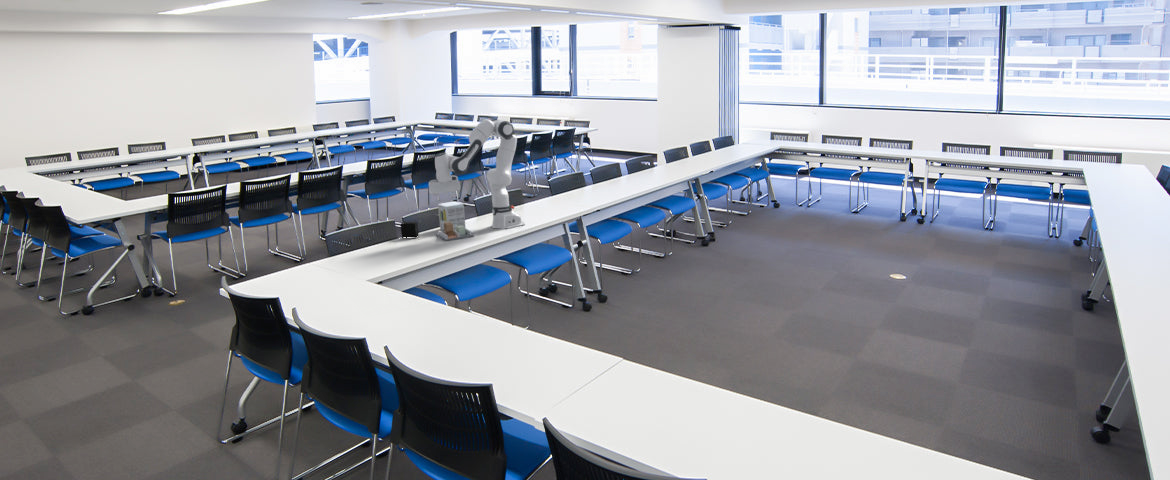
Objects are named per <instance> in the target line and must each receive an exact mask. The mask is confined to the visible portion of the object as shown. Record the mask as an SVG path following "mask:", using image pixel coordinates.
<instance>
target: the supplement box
mask: <svg viewBox="0 0 1170 480" xmlns="http://www.w3.org/2000/svg"><path fill="white" fill-rule="evenodd" d="M437 205H438V206H437V207H438V220H439V229H440V230H443V231H444V223H446V222H451V223H452V224H453V230H455V231H456V226H459V225H462V226H464V227H465V228H466V229H467V227H466V217H465V215H466V214H465V208H464V207H465V204H464V203H462V202H459V201H456V200H455V201H454V200H453V201H448V202H442V203H438V204H437Z"/></svg>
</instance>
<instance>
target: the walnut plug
mask: <svg viewBox="0 0 1170 480" xmlns="http://www.w3.org/2000/svg"><path fill="white" fill-rule="evenodd" d="M443 233H445V234H446V235H448V237H449V236H454V233H453V224H452V223H451V222H446V223H444V230H443Z"/></svg>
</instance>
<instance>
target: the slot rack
mask: <svg viewBox="0 0 1170 480" xmlns="http://www.w3.org/2000/svg"><path fill="white" fill-rule="evenodd" d="M465 227H466V226H465ZM465 227H464V226H462V225H459V226H456V231H455V230H453V233H454V236H449V237H448V235H446V234H445V232H444V231H441V230H438V231H437V232H438V233H437V234H436V236H437V237H438V238H439V239H441V240H442V241H445V242H451V241H456V240H462V239H469V238H474V234H472V233H473V232H472V231H471V230H469V229H468V228H467V227H466V228H465Z"/></svg>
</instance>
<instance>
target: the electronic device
mask: <svg viewBox="0 0 1170 480" xmlns="http://www.w3.org/2000/svg"><path fill="white" fill-rule="evenodd" d="M403 222H404V224H403ZM403 222H401V223H400V231H401V238H402V239H404V238H403V237H406V238H405V239H408V238H407V237H417V236H418V237H419V236H420V235H419V227H418V226H419V225H418V222H416V221H403ZM418 237H417V238H418Z"/></svg>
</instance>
